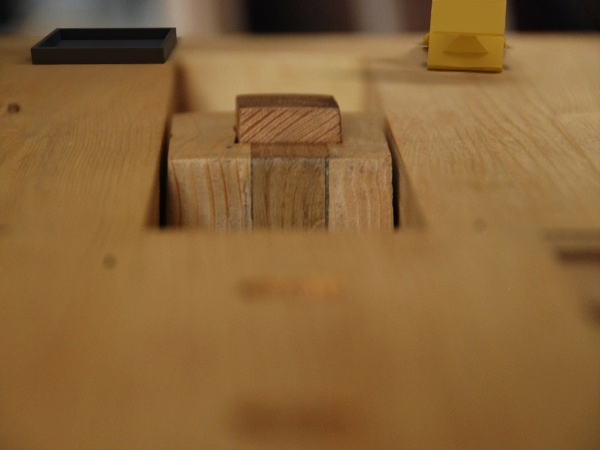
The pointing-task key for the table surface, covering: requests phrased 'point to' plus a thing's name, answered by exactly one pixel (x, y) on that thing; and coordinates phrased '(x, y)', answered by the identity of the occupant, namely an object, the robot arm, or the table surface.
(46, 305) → the table surface
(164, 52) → the tray
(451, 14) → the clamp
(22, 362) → the table surface
